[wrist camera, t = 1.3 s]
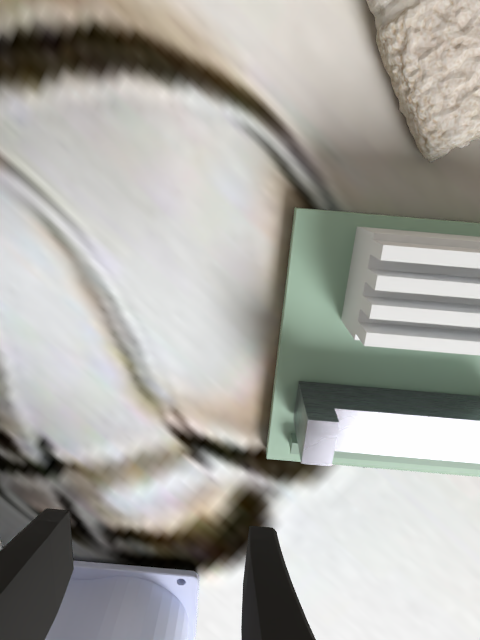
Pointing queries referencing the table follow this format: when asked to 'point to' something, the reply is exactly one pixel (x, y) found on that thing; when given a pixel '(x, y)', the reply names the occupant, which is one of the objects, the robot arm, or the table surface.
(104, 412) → the table surface
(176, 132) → the table surface
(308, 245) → the board
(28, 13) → the table surface
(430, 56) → the washcloth
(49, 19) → the table surface
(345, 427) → the bar
